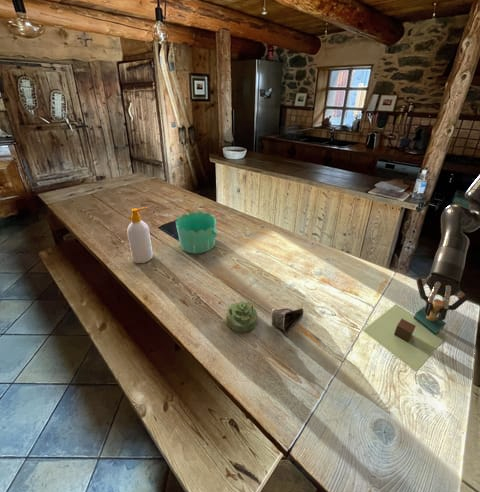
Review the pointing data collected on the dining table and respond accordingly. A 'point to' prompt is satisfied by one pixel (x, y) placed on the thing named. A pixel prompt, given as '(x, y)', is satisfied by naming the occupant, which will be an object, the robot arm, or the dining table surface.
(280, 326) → the dark flower pot
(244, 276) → the dining table surface
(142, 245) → the soap bottle
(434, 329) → the brush
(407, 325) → the brown cube
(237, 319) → the decorative artifact
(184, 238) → the basket
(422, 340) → the mat
